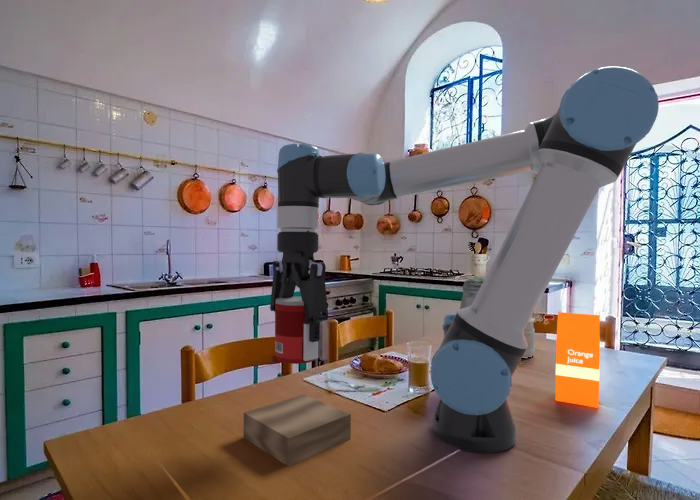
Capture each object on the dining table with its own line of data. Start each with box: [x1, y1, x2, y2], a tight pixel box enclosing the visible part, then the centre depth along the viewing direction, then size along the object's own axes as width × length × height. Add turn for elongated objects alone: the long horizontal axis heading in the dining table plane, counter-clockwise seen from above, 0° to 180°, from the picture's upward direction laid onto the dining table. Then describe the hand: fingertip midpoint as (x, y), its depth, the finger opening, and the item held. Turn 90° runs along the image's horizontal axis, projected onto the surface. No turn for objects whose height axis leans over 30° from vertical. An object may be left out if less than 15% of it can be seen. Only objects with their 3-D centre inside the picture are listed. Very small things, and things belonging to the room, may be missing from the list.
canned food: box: [274, 295, 317, 365], centre depth 79 cm, size 8×8×11 cm
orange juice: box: [554, 311, 601, 409], centre depth 100 cm, size 8×9×20 cm
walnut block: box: [243, 394, 352, 467], centre depth 79 cm, size 14×14×5 cm
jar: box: [522, 315, 536, 357], centre depth 140 cm, size 13×13×18 cm
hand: (297, 354), depth 79 cm, fingers closed on canned food, 8 cm apart
